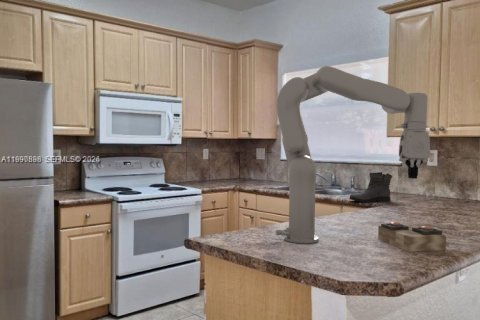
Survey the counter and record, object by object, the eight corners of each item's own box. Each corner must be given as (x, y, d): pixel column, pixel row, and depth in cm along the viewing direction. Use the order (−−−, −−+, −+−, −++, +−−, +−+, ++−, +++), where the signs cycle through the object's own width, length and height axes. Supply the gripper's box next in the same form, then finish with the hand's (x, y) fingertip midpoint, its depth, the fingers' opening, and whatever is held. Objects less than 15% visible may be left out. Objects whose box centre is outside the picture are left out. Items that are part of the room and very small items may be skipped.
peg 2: (424, 247, 149) (425, 228, 149) (417, 244, 153) (418, 226, 152) (435, 246, 150) (435, 227, 149) (427, 244, 153) (428, 225, 153)
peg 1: (392, 242, 156) (392, 224, 156) (386, 239, 160) (387, 222, 160) (402, 241, 157) (402, 223, 157) (396, 239, 161) (396, 221, 161)
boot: (345, 201, 276) (346, 171, 276) (384, 199, 285) (384, 171, 284) (354, 203, 267) (354, 172, 266) (393, 201, 275) (394, 172, 274)
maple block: (408, 251, 144) (409, 233, 143) (378, 238, 163) (378, 222, 163) (445, 250, 146) (446, 232, 146) (411, 237, 166) (411, 221, 166)
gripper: (401, 126, 150) (399, 178, 150) (440, 128, 152) (437, 179, 153) (390, 127, 157) (388, 177, 158) (427, 128, 160) (425, 177, 160)
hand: (412, 178), depth 155 cm, fingers closed
